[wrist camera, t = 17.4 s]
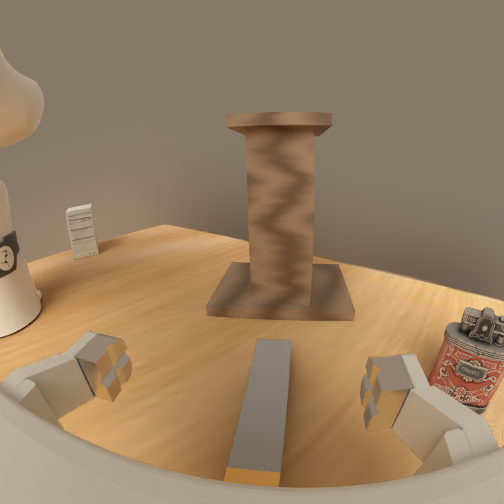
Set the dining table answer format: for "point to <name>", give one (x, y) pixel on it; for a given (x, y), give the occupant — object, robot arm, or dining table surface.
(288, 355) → the gray and orange bar
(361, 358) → the dining table surface
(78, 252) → the supplement box
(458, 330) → the lighter
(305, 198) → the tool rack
